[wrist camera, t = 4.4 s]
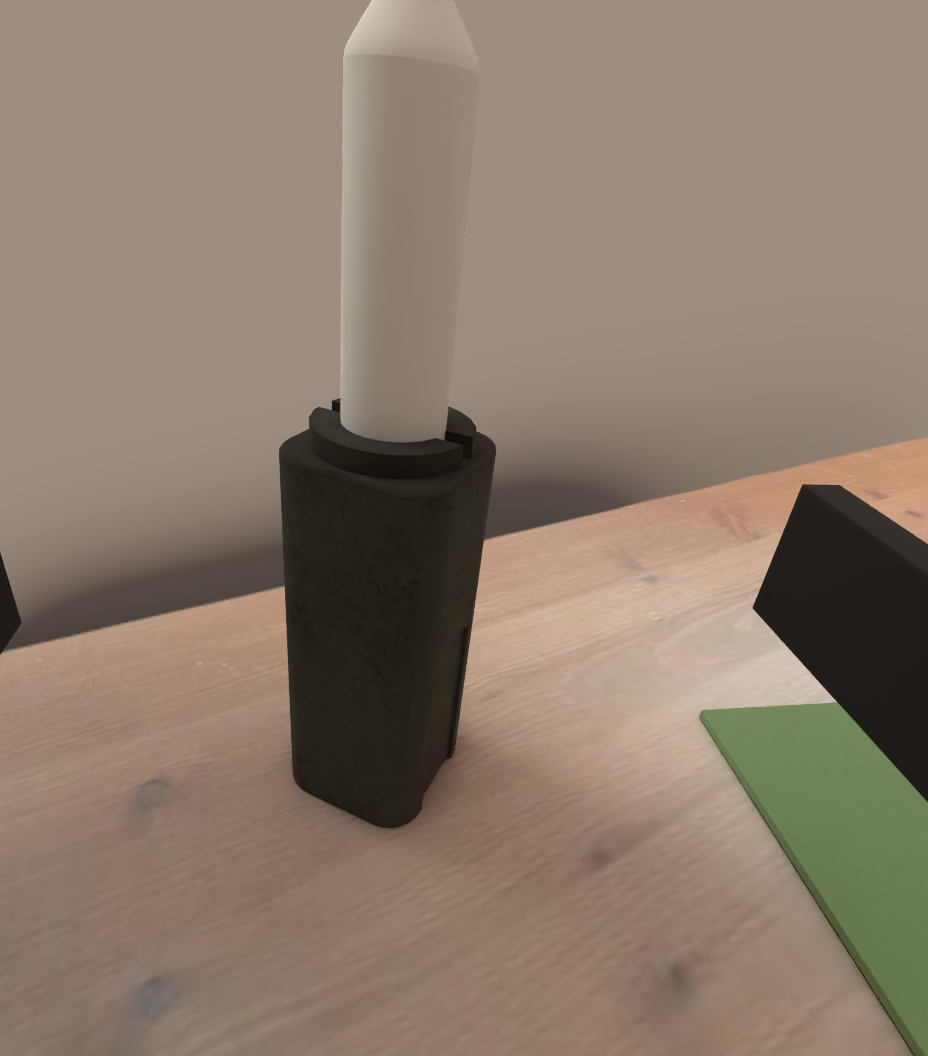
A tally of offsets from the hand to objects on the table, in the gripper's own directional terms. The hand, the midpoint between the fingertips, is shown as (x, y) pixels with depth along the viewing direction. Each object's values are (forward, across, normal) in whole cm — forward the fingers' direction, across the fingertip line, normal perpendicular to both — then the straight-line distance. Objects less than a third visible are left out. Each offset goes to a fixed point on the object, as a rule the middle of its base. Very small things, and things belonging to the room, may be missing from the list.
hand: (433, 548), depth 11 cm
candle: (+8, 0, -14) cm, 16 cm away
